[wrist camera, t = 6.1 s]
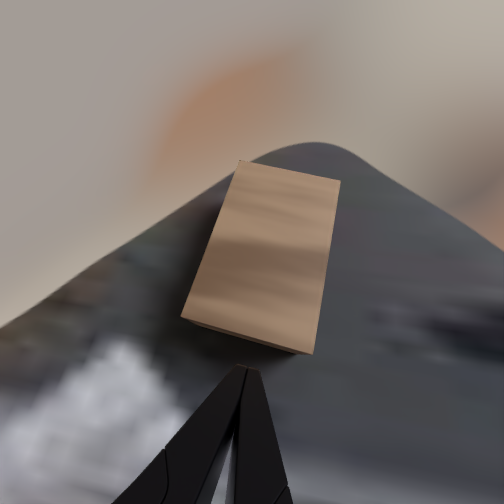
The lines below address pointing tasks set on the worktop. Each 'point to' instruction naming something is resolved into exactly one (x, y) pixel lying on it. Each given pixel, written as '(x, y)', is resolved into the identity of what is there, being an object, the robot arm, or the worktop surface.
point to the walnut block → (267, 258)
